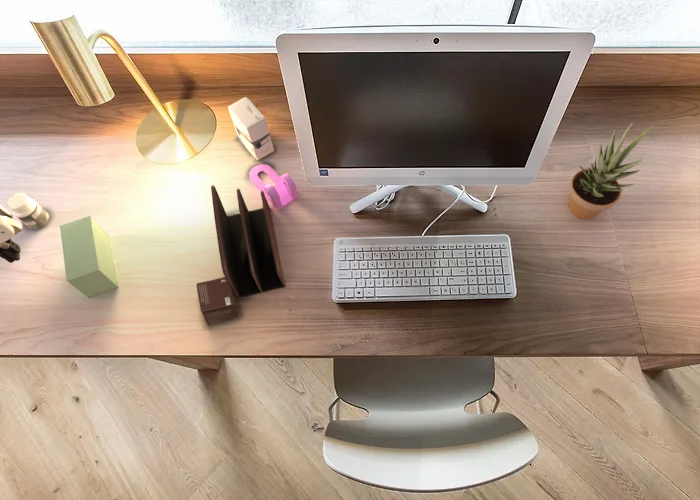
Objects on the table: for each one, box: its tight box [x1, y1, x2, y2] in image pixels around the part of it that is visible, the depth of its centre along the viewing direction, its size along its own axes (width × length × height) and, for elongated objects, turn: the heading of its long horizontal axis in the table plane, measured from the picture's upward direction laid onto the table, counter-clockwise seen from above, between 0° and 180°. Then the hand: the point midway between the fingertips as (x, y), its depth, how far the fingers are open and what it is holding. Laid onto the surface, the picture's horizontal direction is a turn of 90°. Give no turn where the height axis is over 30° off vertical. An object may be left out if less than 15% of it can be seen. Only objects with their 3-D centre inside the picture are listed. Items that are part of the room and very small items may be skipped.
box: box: [196, 276, 239, 326], centre depth 93 cm, size 6×6×7 cm
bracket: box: [248, 163, 299, 212], centre depth 107 cm, size 13×6×7 cm, turn 39°
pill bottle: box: [6, 192, 50, 230], centre depth 105 cm, size 5×5×8 cm
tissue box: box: [59, 215, 119, 298], centre depth 98 cm, size 6×13×9 cm, turn 22°
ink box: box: [227, 96, 275, 161], centre depth 111 cm, size 8×5×12 cm, turn 37°
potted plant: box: [567, 122, 654, 220], centre depth 94 cm, size 10×10×25 cm
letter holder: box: [210, 184, 287, 300], centre depth 96 cm, size 10×20×14 cm, turn 14°
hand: (15, 254), depth 90 cm, fingers closed
